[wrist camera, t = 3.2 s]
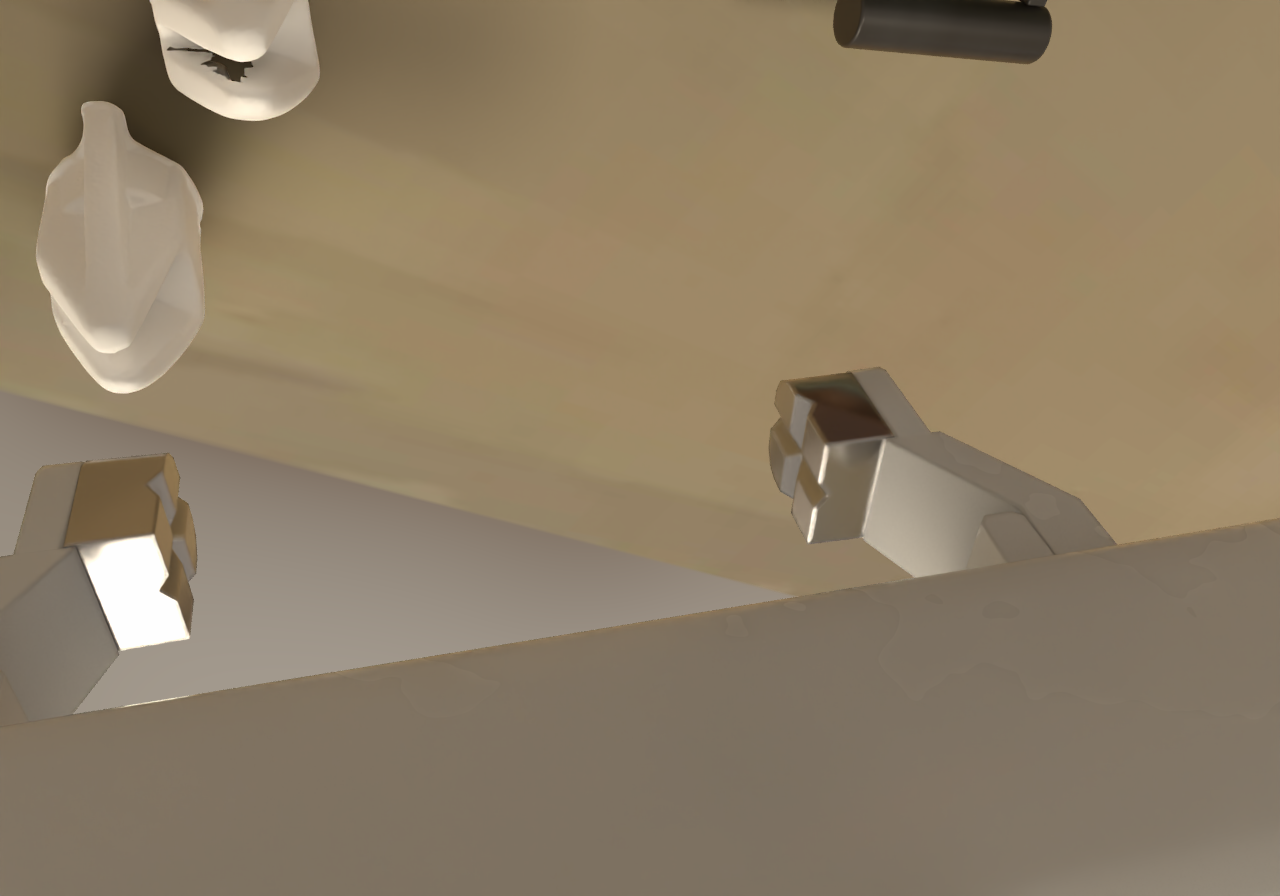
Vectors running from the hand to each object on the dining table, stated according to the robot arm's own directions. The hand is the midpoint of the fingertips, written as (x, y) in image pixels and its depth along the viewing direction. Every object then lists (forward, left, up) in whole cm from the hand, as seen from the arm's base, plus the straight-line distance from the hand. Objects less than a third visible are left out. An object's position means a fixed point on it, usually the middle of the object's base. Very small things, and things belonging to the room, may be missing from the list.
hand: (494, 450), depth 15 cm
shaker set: (-5, -3, -21) cm, 22 cm away
